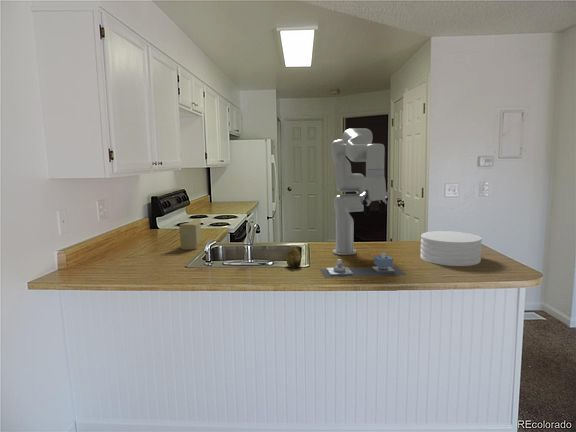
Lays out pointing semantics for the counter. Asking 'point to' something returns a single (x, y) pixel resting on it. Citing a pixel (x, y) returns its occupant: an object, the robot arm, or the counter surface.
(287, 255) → the potato
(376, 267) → the stand
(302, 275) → the counter surface
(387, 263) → the square hole block
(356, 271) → the bench mat
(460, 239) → the plate stack
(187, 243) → the cheese
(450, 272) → the counter surface
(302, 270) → the counter surface
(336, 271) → the hub
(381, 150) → the robot arm
